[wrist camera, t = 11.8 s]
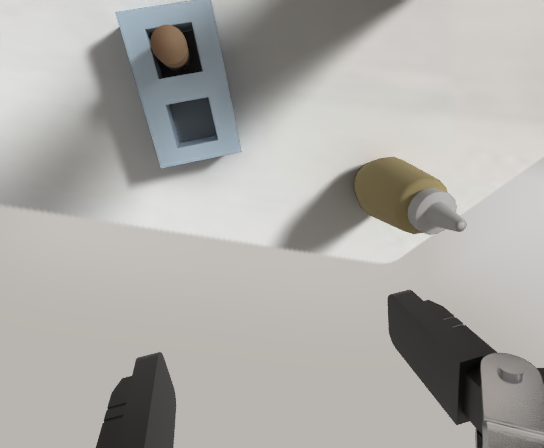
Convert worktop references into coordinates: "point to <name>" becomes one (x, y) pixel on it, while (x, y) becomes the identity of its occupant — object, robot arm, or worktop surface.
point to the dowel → (170, 47)
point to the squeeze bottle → (406, 197)
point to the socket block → (180, 80)
